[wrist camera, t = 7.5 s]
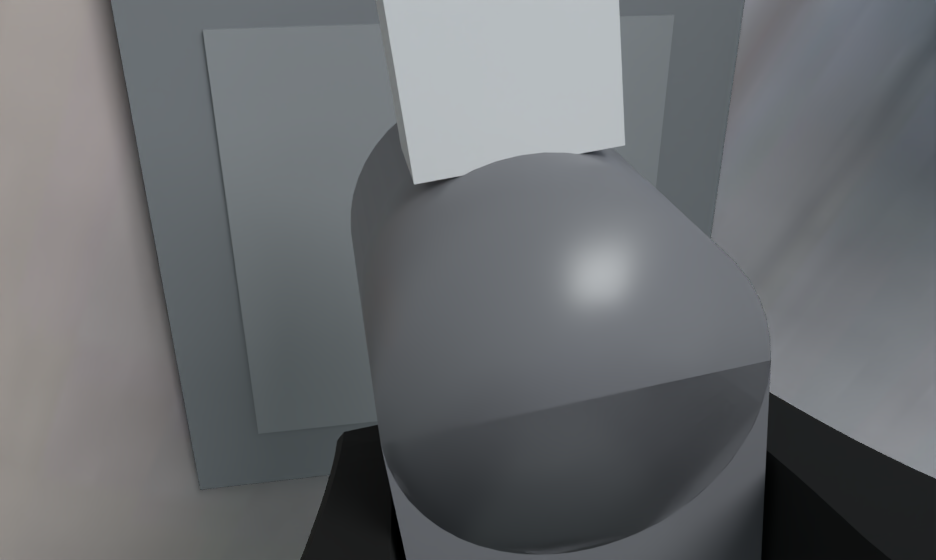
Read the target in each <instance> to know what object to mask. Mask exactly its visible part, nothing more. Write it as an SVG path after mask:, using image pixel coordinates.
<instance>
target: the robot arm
mask: <svg viewBox="0 0 936 560" xmlns="http://www.w3.org/2000/svg"><path fill="white" fill-rule="evenodd" d="M300 560H406V555H405V551H404V546H403V542H402V537H401V533H400V528H399V524H398V519H397V515H396V510H395V506H394V501H393V497H392V492H391V488H390V483H389V479H388V474H387V470H386V465H385V461H384V456H383V452H382V447H381V442H380V435H379V428H378V425H374V426H369V427H364V428H360V429H355V430H350V431H346V432H343V434H342V435H341V436H340V437H339V439H338V440H337V444H336V451H335V456H334V460H333V465H332V469H331V472H330V476H329V480H328V483H327V486H326V490H325V493H324V496H323V499H322V503H321V506H320V509H319V511H318V514H317V517H316V520H315V522H314V525H313V528H312V530H311V533H310V536H309V539H308V541H307V544H306V547H305V549H304V552H303V554H302V557H301V559H300ZM761 560H936V479H935V478H933V477H931V476H928V475H926V474H924V473H922V472H919V471H917V470H915V469H913V468H911V467H909V466H906V465H904V464H902V463H900V462H898V461H896V460H894V459H892V458H890V457H888V456H886V455H884V454H882V453H880V452H878V451H876V450H874V449H872V448H870V447H868V446H866V445H864V444H862V443H860V442H858V441H856V440H854V439H852V438H850V437H848V436H847V435H845V434H843V433H841V432H839V431H837V430H835V429H833V428H832V427H830V426H828V425H826V424H824V423H822V422H821V421H819V420H817V419H815V418H813V417H812V416H810V415H808V414H806V413H805V412H803V411H801V410H799V409H798V408H796V407H794V406H792V405H791V404H789V403H787V402H785V401H784V400H782V399H780V398H779V397H777V396H775V395H773V394H772V393H770V392H769V406H768V427H767V448H766V468H765V489H764V510H763V531H762V551H761Z"/></svg>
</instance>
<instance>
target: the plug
mask: <svg viewBox="0 0 936 560" xmlns="http://www.w3.org/2000/svg"><path fill="white" fill-rule="evenodd" d="M376 4H377V10H378V16H379V22H380V28H381V33H382V39H383V45H384V51H385V57H386V62H387V68H388V74H389V80H390V86H391V91H392V97H393V103H394V109H395V115H396V121H397V123H396V124H395V125H393V126H392V127H391V128H390V129H389V130H388V131H387V132H386V133H385V135H384V136H383V137H382V138H381V140H380V141H379V142H378V143H377V144H376V146H375V147H374V149H373V150H372V152H371V154H370V155H369V157H368V158H367V160H366V162H365V164H364V166H363V168H362V171H361V173H360V175H359V177H358V180H357V184H356V187H355V190H354V194H353V200H352V206H351V235H352V243H353V250H354V257H355V264H356V271H357V278H358V285H359V293H360V300H361V307H362V314H363V321H364V328H365V335H366V342H367V350H368V357H369V364H370V371H371V378H372V385H373V392H374V399H375V407H376V414H377V421H378V428H379V435H380V442H381V447H382V452H383V456H384V461H385V465H386V470H387V474H388V479H389V483H390V488H391V492H392V497H393V501H394V506H395V510H396V515H397V519H398V524H399V528H400V533H401V537H402V542H403V546H404V551H405V555H406V560H761V551H762V531H763V510H764V489H765V468H766V448H767V427H768V406H769V386H770V365H771V351H770V335H769V330H768V324H767V319H766V316H765V313H764V310H763V307H762V304H761V302H760V299H759V297H758V295H757V293H756V291H755V289H754V288H753V286H752V284H751V282H750V281H749V279H748V277H747V276H746V275H745V274H744V273H743V271H742V270H741V269H740V268H739V266H738V265H737V264H736V263H735V261H734V260H732V259H731V258H730V257H729V256H728V255H727V254H726V253H725V252H724V251H723V250H722V249H721V248H720V247H719V246H717V245H716V244H715V243H714V242H713V241H712V240H711V239H710V238H709V237H708V236H707V235H706V234H705V233H703V232H702V231H701V230H700V229H699V228H698V227H697V226H696V225H695V224H694V223H693V222H692V221H691V220H690V219H688V218H687V217H686V216H685V215H684V214H683V213H682V212H681V211H680V210H679V209H678V208H677V207H676V206H674V205H673V204H672V203H671V202H670V201H669V200H668V199H667V198H666V197H665V196H664V195H663V194H662V193H661V192H659V191H658V190H657V189H656V188H655V187H654V186H653V185H652V184H651V183H650V182H649V181H648V180H647V179H645V178H644V177H643V176H642V175H641V174H640V173H639V172H638V171H637V170H636V169H635V168H634V167H633V166H632V165H630V164H629V163H628V162H627V161H626V160H625V159H624V158H623V157H622V156H621V155H620V154H619V153H618V152H616V151H615V150H614V149H613V147H619V146H624V145H625V131H624V107H623V83H622V60H621V36H620V12H619V0H376Z"/></svg>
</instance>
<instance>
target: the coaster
mask: <svg viewBox="0 0 936 560" xmlns="http://www.w3.org/2000/svg"><path fill="white" fill-rule="evenodd" d="M744 2H745V0H619V12H620V36H621V60H622V83H623V107H624V131H625V145H624V146H619V147H613V149H614V150H615V151H616V152H618V153H619V154H620V155H621V156H622V157H623V158H624V159H625V160H626V161H627V162H628V163H629V164H630V165H632V166H633V167H634V168H635V169H636V170H637V171H638V172H639V173H640V174H641V175H642V176H643V177H644V178H645V179H647V180H648V181H649V182H650V183H651V184H652V185H653V186H654V187H655V188H656V189H657V190H658V191H659V192H661V193H662V194H663V195H664V196H665V197H666V198H667V199H668V200H669V201H670V202H671V203H672V204H673V205H674V206H676V207H677V208H678V209H679V210H680V211H681V212H682V213H683V214H684V215H685V216H686V217H687V218H688V219H690V220H691V221H692V222H693V223H694V224H695V225H696V226H697V227H698V228H699V229H700V230H701V231H702V232H703V233H705V234H706V235H707V236H708V237H709V238H710V239H711V232H712V225H713V218H714V211H715V204H716V197H717V190H718V183H719V176H720V169H721V162H722V155H723V148H724V141H725V134H726V127H727V120H728V113H729V106H730V99H731V92H732V86H733V79H734V72H735V65H736V58H737V51H738V44H739V37H740V30H741V23H742V16H743V9H744ZM111 5H112V10H113V16H114V21H115V27H116V32H117V38H118V43H119V48H120V54H121V59H122V65H123V70H124V76H125V81H126V87H127V92H128V98H129V103H130V109H131V114H132V120H133V125H134V130H135V136H136V141H137V147H138V152H139V158H140V163H141V169H142V174H143V180H144V185H145V191H146V196H147V201H148V207H149V212H150V218H151V223H152V229H153V234H154V240H155V245H156V251H157V256H158V262H159V267H160V272H161V278H162V283H163V289H164V294H165V300H166V305H167V311H168V316H169V322H170V327H171V333H172V338H173V343H174V349H175V354H176V360H177V365H178V371H179V376H180V382H181V387H182V393H183V398H184V404H185V409H186V414H187V420H188V425H189V431H190V436H191V442H192V447H193V453H194V458H195V464H196V469H197V475H198V480H199V485H200V490H203V489H212V488H221V487H229V486H238V485H247V484H255V483H264V482H273V481H281V480H290V479H299V478H308V477H316V476H325V475H330V472H331V469H332V465H333V460H334V456H335V451H336V444H337V440H338V439H339V437H340V436H341V435H342V434H343V432H346V431H350V430H355V429H360V428H364V427H369V426H374V425H378V421H377V414H376V407H375V399H374V392H373V385H372V378H371V371H370V364H369V357H368V350H367V342H366V335H365V328H364V321H363V314H362V307H361V300H360V293H359V285H358V278H357V271H356V264H355V257H354V250H353V243H352V235H351V206H352V200H353V194H354V190H355V187H356V184H357V180H358V177H359V175H360V173H361V171H362V168H363V166H364V164H365V162H366V160H367V158H368V157H369V155H370V154H371V152H372V150H373V149H374V147H375V146H376V144H377V143H378V142H379V141H380V140H381V138H382V137H383V136H384V135H385V133H386V132H387V131H388V130H389V129H390V128H391V127H392V126H393V125H395V124H396V123H397V121H396V115H395V109H394V103H393V97H392V91H391V86H390V80H389V74H388V68H387V62H386V57H385V51H384V45H383V39H382V33H381V28H380V22H379V16H378V10H377V4H376V0H111Z"/></svg>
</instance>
